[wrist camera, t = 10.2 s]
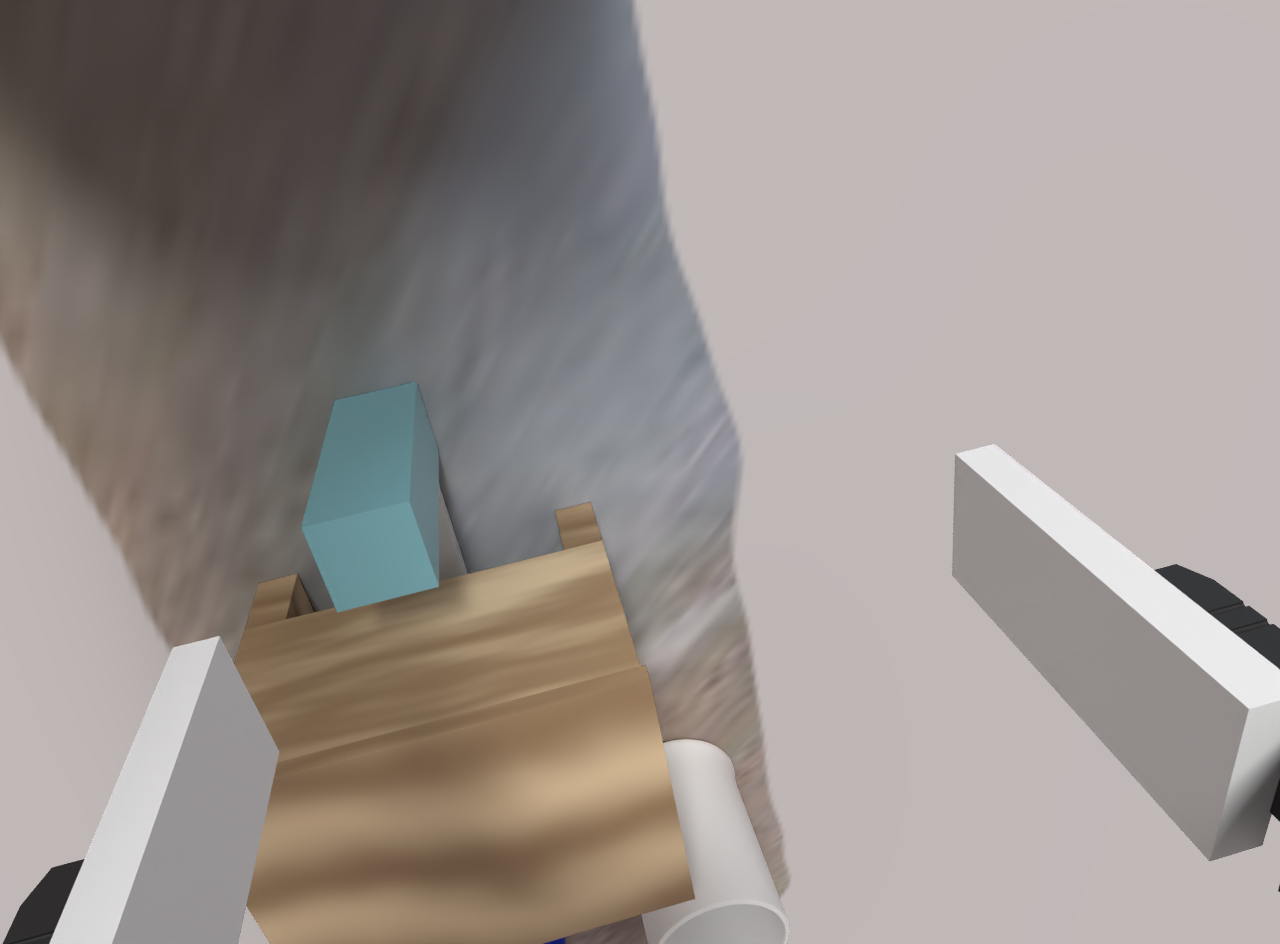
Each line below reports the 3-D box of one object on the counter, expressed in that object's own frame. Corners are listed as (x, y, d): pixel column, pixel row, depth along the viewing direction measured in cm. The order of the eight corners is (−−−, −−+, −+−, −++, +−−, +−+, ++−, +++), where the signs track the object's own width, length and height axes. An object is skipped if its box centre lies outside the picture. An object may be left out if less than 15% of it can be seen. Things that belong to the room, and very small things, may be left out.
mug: (724, 851, 64) (779, 1015, 53) (609, 868, 62) (643, 1041, 52) (738, 730, 58) (803, 887, 48) (613, 746, 57) (652, 911, 46)
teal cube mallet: (334, 400, 42) (301, 527, 32) (416, 381, 43) (409, 501, 32) (472, 768, 55) (479, 945, 45) (533, 751, 56) (555, 922, 45)
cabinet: (253, 580, 46) (182, 802, 33) (593, 498, 48) (649, 677, 35) (343, 769, 53) (312, 1011, 40) (635, 690, 55) (695, 898, 42)
